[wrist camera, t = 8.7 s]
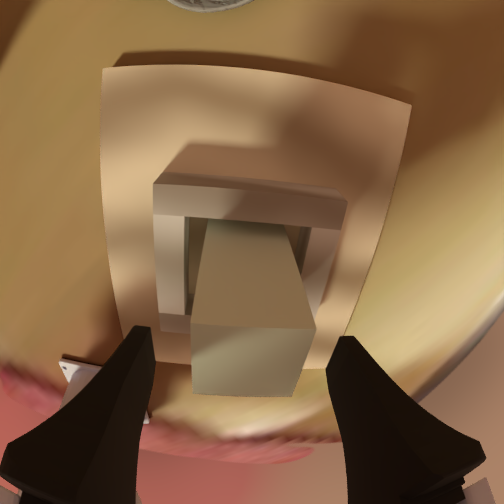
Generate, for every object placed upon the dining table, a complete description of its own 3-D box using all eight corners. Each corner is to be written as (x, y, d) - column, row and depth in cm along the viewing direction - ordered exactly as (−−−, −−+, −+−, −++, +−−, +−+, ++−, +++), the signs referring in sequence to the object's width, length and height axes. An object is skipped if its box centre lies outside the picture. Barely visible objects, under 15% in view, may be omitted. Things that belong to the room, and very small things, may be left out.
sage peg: (272, 284, 18) (291, 396, 11) (205, 279, 18) (192, 393, 11) (283, 223, 16) (316, 329, 9) (208, 217, 16) (190, 322, 9)
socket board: (325, 359, 24) (333, 387, 21) (130, 348, 22) (122, 376, 20) (403, 103, 14) (432, 109, 11) (110, 69, 12) (85, 66, 10)
